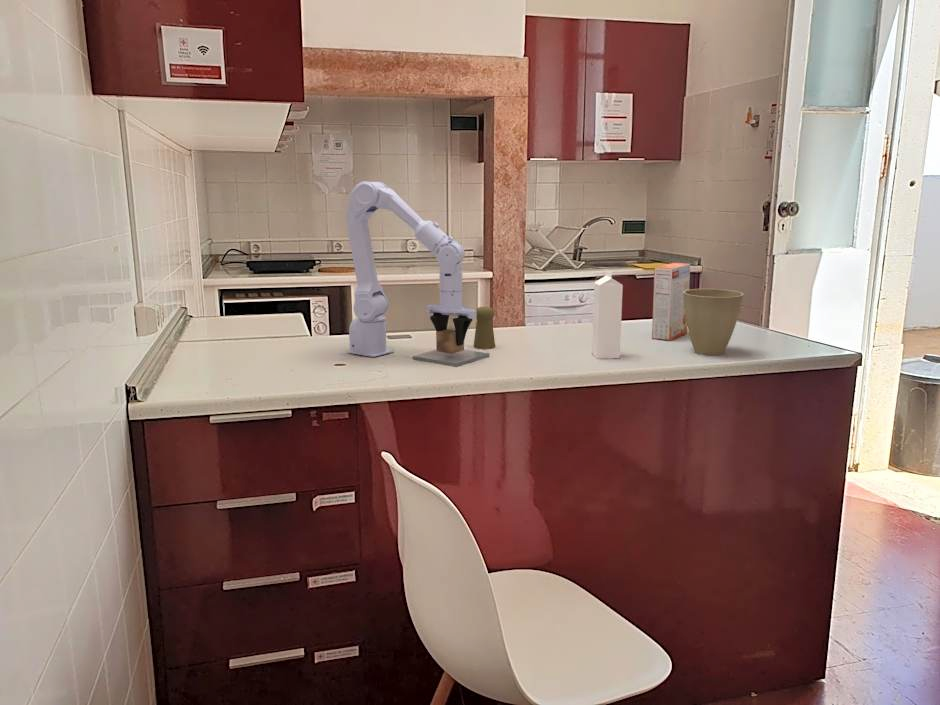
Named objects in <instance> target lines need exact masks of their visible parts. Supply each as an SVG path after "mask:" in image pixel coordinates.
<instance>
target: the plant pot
mask: <svg viewBox="0 0 940 705" xmlns="http://www.w3.org/2000/svg"><path fill="white" fill-rule="evenodd" d="M683 297H684V307H685V315H686V321H687V332H688V335H689V337H690V342H691V345H692V349H693V350H694V353H697V354H699V355H705V356H721V355H723V354H724V353H725V351H726V350H727V347H728V345H729V343H730V340H731V338H732V335H733V333H734V330H735V328H736V326H737V325H736V324H737V321H738V318H739V315H740V311H741V307H742V304H743V298H744V292H740V291H738V290H729V289H721V288H719V289H718V288H693V289H689V290H685V291H683Z"/></svg>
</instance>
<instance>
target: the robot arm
mask: <svg viewBox="0 0 940 705" xmlns="http://www.w3.org/2000/svg"><path fill="white" fill-rule="evenodd" d="M379 209H381V210H387V211H391V212H392V213H393V214H394V215H396V216H397V217H398V218H399V219H401V221H402V222H404V223H405V224H406V225H408V226H409V227H410V228H411V229H413V231H414V236H415V238H416V240H417V241H418V242H419V243H421V244H422V245H423V246H424V247H425V248H426V249H427V250H428V251H429V252H430V253H432V254H433V255H435V259H436V262H437V263H438V264H439V305H438V304H437V305H435V304H429V305H426V313H427V314H432V315H430V316H429V319H430V321H431V322H432V324H433V327H434V329H435V331H436V332H438V331H442V330H446V329H448V323H449V318H450V316H451V317H452V316H453V317H455V318H452V321H453V322H452V323H453V325H454V330H455V331H456V344H457V346H460V345H463V344H464V345H465V338H466V335H467V332H468V329H469V327H470V325H471V323H472V322H473V319H476V318H477V310H476V309H471V308H467V307H463V263H462V261H463V260H464V259H465V256H466V255H465V252H466V251H465V248H464V246H463V245H462V244H461V243H460V241H456V240H453V239H454V238H453V237H452V236H451V235H449V236H448V235H447V234H446V233H445V232H444V231H443V230H442V229H441V228H440V224H439V223H438V222H437V221H434V222H433V221H432V220H424V219H422V217H421V216H419V214H417V212H415V211H414V209H412V208H411V207H410V205H408V203H406V202H405V200H403V198H402V197H400V196H399V195H398V193H396V192H395V191H394V190H393V188H390V187H388V185H386V184H385V183H384V182H383V181H379V180H378V181H367V180H363V181H360V182H359V183H357V184H356V185H355V186H354V188H352V190H351V191H350V199H349V203H348V207H347V209H346V212H345V222H346V226H347V232H348V238H349V245H350V248H351V249H350V251H351V256H352V261H353V267H354V273H355V278H356V283H357V285H356V288H355V291H354V304H353V312H354V314H355V316H356V318H355V319H353V320H352V321H351V322H350V324H349V330H348V333H349V334H348V335H349V336H348V338H349V350H347V353H348V354H355V355H358V356H359V355H360V356H365V357H370V358H376V357H380V356H383V355H387V354H391V353H394V350H392V349H387V328H386V327H387V325H386V324H387V320H386V318H387V317H386V315H385V314H386V312H387V311H388V310H389V305H390V302H389V300H388V298H387V296H386V294H385V293H384V288H383V286H382V285H381V283H380V282H379V281H378V275H377V269H376V263H375V256H374V250H373V245H372V240H371V238H372V237H371V234H370V233H371V232H370V227H369V220H370V218H371V217H372V216H373V215H374V213H375V212H376V211H377V210H379ZM436 332H435V333H436Z"/></svg>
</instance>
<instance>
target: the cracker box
mask: <svg viewBox="0 0 940 705" xmlns="http://www.w3.org/2000/svg"><path fill="white" fill-rule="evenodd" d="M653 272H654V273H653V274H654V275H653V296H652V297H653V302H652V306H653V307H652V328H651V329H652V331H651V339H652V340H658V339H661V340H662V341H672V340H674V339H677V338H679V337H681V336H683V335H686V334H687V333H688V326H687V321H686V315H685V307H684V297H683V291H685V290H690V279H691V278H690V277H691V263H687V262H686V263H685V262H684V263H683V262H672V263H666V264H664V265H658V266H656V267H654V270H653ZM661 340H660V341H661Z"/></svg>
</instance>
